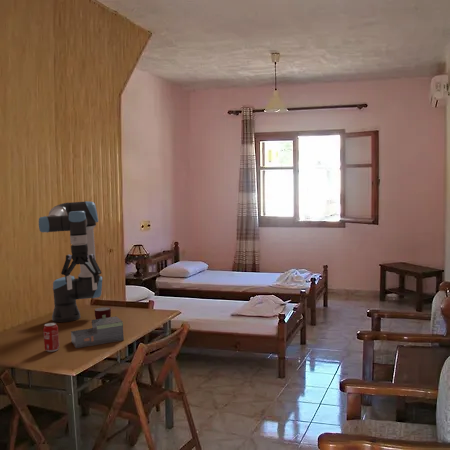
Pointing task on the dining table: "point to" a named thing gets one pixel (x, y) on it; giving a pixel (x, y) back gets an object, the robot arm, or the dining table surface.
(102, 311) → the mug
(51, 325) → the beverage can
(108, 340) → the stand
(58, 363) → the dining table surface
